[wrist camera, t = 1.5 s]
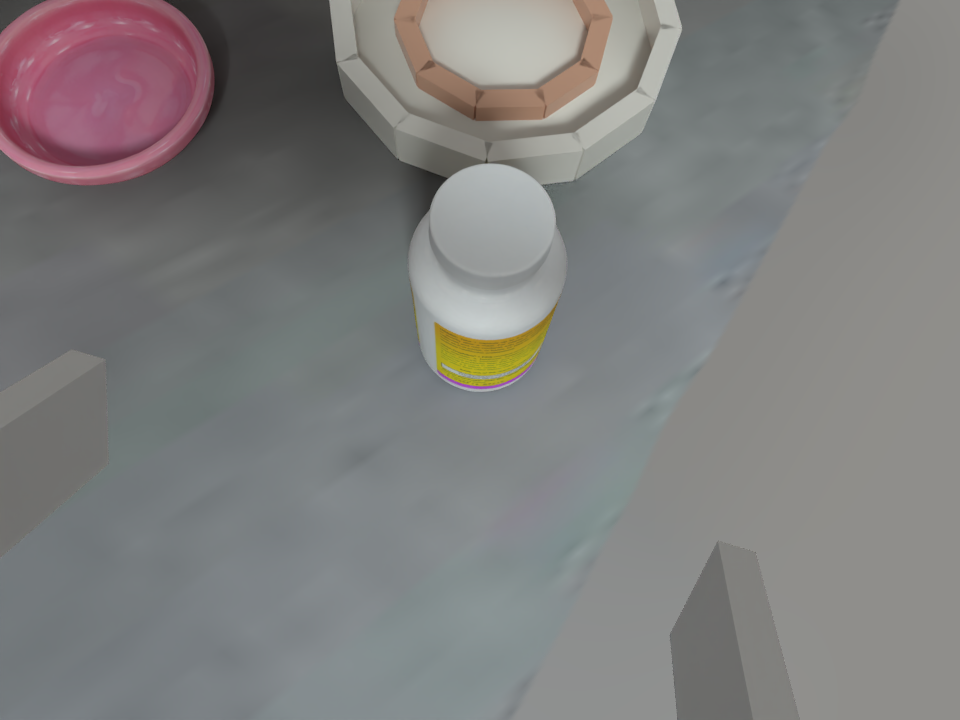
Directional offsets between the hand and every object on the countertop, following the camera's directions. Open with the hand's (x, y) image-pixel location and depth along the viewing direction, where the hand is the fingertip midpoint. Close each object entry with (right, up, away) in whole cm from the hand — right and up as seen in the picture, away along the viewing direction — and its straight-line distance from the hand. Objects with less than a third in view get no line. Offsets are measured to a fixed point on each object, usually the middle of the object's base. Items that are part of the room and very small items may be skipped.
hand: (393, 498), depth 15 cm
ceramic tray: (+3, +22, +29) cm, 36 cm away
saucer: (-19, +17, +27) cm, 37 cm away
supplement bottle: (+2, +4, +23) cm, 24 cm away
